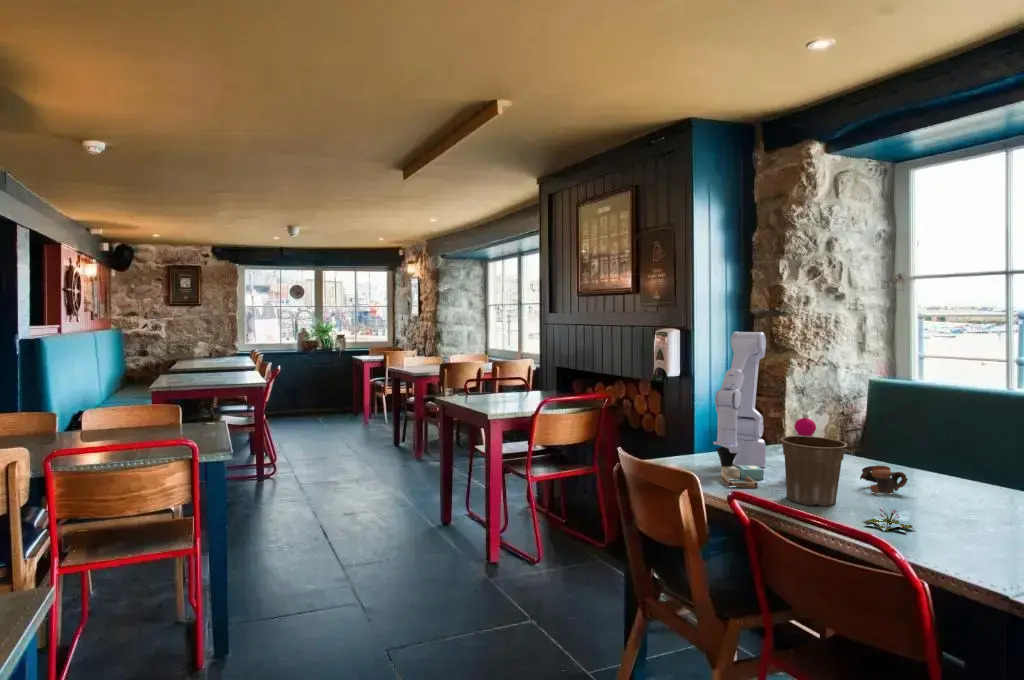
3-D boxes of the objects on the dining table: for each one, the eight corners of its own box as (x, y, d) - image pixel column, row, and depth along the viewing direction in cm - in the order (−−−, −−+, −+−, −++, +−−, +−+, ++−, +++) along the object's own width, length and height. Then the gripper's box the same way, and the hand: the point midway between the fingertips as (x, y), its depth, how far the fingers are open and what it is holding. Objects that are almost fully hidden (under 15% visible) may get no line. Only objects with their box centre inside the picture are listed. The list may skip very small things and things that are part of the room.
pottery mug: (859, 494, 194) (855, 465, 198) (868, 502, 201) (863, 475, 205) (907, 489, 188) (901, 460, 192) (914, 498, 194) (908, 470, 198)
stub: (733, 476, 213) (734, 466, 213) (739, 480, 208) (739, 469, 208) (721, 476, 213) (721, 466, 213) (726, 480, 208) (726, 469, 208)
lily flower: (912, 540, 155) (912, 520, 155) (854, 529, 163) (854, 509, 162) (922, 527, 164) (923, 508, 164) (867, 517, 172) (867, 499, 172)
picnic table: (748, 481, 206) (748, 476, 206) (757, 488, 198) (757, 483, 198) (720, 480, 207) (721, 475, 207) (729, 487, 198) (729, 482, 198)
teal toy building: (756, 475, 214) (756, 465, 214) (763, 479, 208) (763, 469, 208) (737, 474, 214) (737, 464, 214) (743, 479, 208) (743, 469, 208)
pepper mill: (791, 480, 208) (792, 414, 207) (791, 474, 215) (792, 411, 214) (817, 482, 205) (819, 415, 205) (816, 477, 212) (818, 412, 211)
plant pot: (854, 501, 185) (856, 441, 185) (831, 513, 174) (832, 449, 173) (794, 489, 197) (796, 433, 196) (769, 500, 186) (770, 440, 185)
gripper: (707, 424, 221) (707, 466, 221) (720, 432, 206) (720, 477, 207) (730, 424, 221) (729, 466, 221) (744, 432, 206) (743, 477, 207)
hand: (726, 471), depth 214 cm, fingers closed
